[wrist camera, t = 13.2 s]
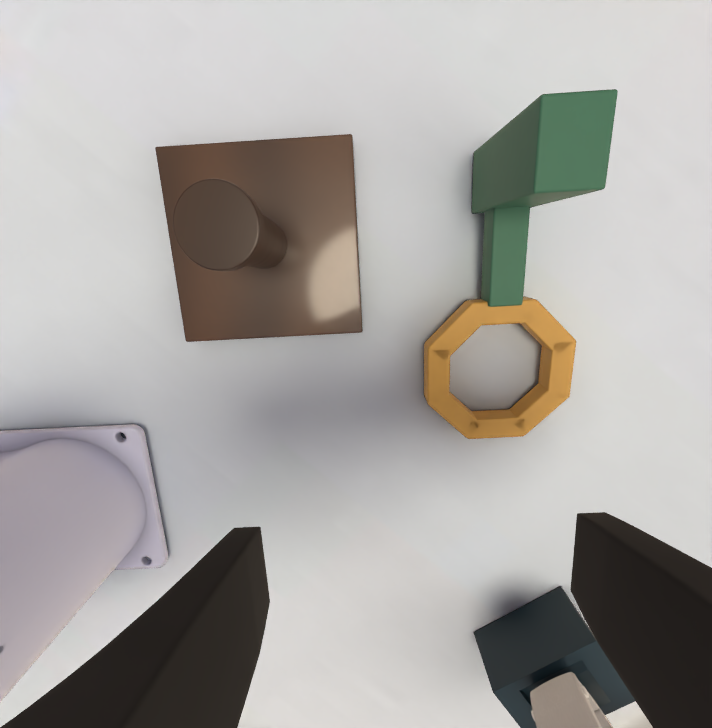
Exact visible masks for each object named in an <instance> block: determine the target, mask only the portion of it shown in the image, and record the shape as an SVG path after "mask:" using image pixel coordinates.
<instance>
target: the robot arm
mask: <svg viewBox="0 0 712 728" xmlns="http://www.w3.org/2000/svg"><path fill="white" fill-rule="evenodd" d="M120 432H122V433H123V434H125V436H126V439H124V438H123V437H121V435H120ZM147 557H149V558H150V559H148V558H147ZM167 560H168V551H167V545H166V540H165V535H164V530H163V525H162V520H161V514H160V509H159V504H158V499H157V494H156V489H155V483H154V478H153V473H152V468H151V463H150V457H149V452H148V447H147V442H146V437H145V433H144V430H143V429H142V428H141V427H140V426H138V425H134V424H130V425H109V426H89V427H68V428H47V429H27V430H6V431H0V702H1V701H2V700H3V699H4V698H5V696H6V695H7V694H8V693H9V692H10V690H11V689H12V688H13V687H14V686H15V685H16V683H17V682H18V681H19V680H20V679H21V678H22V676H23V675H24V674H25V673H26V672H27V671H28V669H29V668H30V667H31V666H32V665H33V664H34V662H35V661H36V660H37V659H38V658H39V657H40V655H41V654H42V653H43V652H44V651H45V650H46V648H47V647H48V646H49V645H50V644H51V643H52V641H53V640H54V639H55V638H56V637H57V636H58V634H59V633H60V632H61V631H62V630H63V628H64V627H65V626H66V625H67V624H68V623H69V621H70V620H71V619H72V618H73V617H74V616H75V614H76V613H77V612H78V611H79V610H80V609H81V607H82V606H83V605H84V604H85V603H86V602H87V600H88V599H89V598H90V597H91V596H92V595H93V593H94V592H95V591H96V590H97V589H98V588H99V586H100V585H101V584H102V583H103V582H104V581H105V579H106V578H107V577H108V576H109V575H110V574H111V572H112V571H113V570H116V569H141V568H159V567H162V566H164V564H165V563H166V561H167ZM571 592H572V594H573V596H574V598H575V600H576V602H577V604H578V606H579V608H580V610H581V612H582V614H583V616H584V618H585V620H586V622H587V624H588V625H589V627H590V629H591V631H592V633H593V635H594V637H595V639H596V640H597V642H598V644H599V645H600V647H601V648H602V650H603V652H604V653H605V655H606V656H607V658H608V659H609V661H610V662H611V664H612V666H613V667H614V669H615V670H616V672H617V673H618V675H619V676H620V678H621V679H622V681H623V682H624V684H625V686H626V687H627V689H628V690H629V692H630V693H631V695H632V696H633V698H634V699H635V701H636V702H637V704H638V705H639V707H640V708H641V710H642V711H643V713H644V714H645V716H646V717H647V719H648V720H649V722H650V723H651V725H652V726H653V728H712V568H711V567H709V566H707V565H705V564H703V563H701V562H700V561H698V560H696V559H694V558H692V557H690V556H688V555H686V554H685V553H683V552H681V551H679V550H677V549H675V548H673V547H672V546H670V545H668V544H666V543H664V542H662V541H660V540H658V539H657V538H655V537H653V536H651V535H649V534H647V533H645V532H643V531H642V530H640V529H638V528H636V527H634V526H632V525H630V524H628V523H626V522H624V521H622V520H620V519H618V518H616V517H614V516H612V515H609V514H607V513H605V512H603V513H579V514H577V522H576V534H575V545H574V557H573V569H572V580H571ZM269 603H270V599H269V591H268V583H267V575H266V567H265V560H264V552H263V544H262V536H261V528H260V527H243V528H234V529H232V530H231V531H230V532H229V533H228V534H227V535H226V536H225V537H224V538H223V539H222V540H221V541H220V542H219V543H218V544H217V545H215V546H214V547H213V548H212V549H211V550H210V551H209V552H208V553H207V554H206V555H205V556H204V557H203V558H202V559H201V560H200V561H199V562H198V563H197V564H196V565H195V566H194V567H193V568H192V569H191V570H190V571H189V572H188V573H186V574H185V575H184V576H183V577H182V578H181V579H180V580H179V581H178V582H177V583H176V584H175V585H174V586H173V587H172V588H171V589H170V590H169V591H167V592H166V593H165V594H164V595H163V596H162V597H161V598H160V599H159V600H158V601H157V602H155V603H154V604H153V605H152V606H151V607H150V608H149V609H148V610H146V611H145V612H144V613H143V614H142V615H141V616H140V617H138V618H137V619H136V620H135V621H134V622H133V623H132V624H130V625H129V626H128V627H127V628H126V629H125V630H124V631H122V632H121V633H120V634H119V635H118V636H117V637H116V638H114V639H113V640H112V641H111V642H110V643H109V644H108V645H106V646H105V647H104V648H103V649H102V650H100V651H99V652H98V653H97V654H96V655H94V656H93V657H92V658H91V659H89V660H88V661H87V662H86V663H85V664H83V665H82V666H81V667H80V668H78V669H77V670H76V671H75V672H73V673H72V674H71V675H70V676H68V677H67V678H66V679H64V680H63V681H62V682H60V683H59V684H58V685H57V686H55V687H54V688H53V689H51V690H50V691H49V692H48V693H46V694H45V695H44V696H42V697H41V698H40V699H39V700H37V701H36V702H35V703H33V704H32V705H31V706H29V707H28V708H27V709H25V710H24V711H23V712H21V713H20V714H19V715H17V716H16V717H15V718H13V719H12V720H10V721H9V722H7V723H6V724H5V725H3V726H2V727H0V728H237V726H238V723H239V720H240V717H241V713H242V710H243V707H244V704H245V700H246V697H247V694H248V690H249V687H250V684H251V680H252V677H253V674H254V671H255V667H256V664H257V660H258V657H259V654H260V649H261V644H262V639H263V635H264V630H265V624H266V619H267V614H268V608H269Z"/></svg>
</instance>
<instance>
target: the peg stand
mask: <svg viewBox="0 0 712 728" xmlns="http://www.w3.org/2000/svg"><path fill="white" fill-rule="evenodd" d="M156 155H157V161H158V167H159V174H160V180H161V186H162V193H163V199H164V205H165V212H166V218H167V224H168V231H169V237H170V243H171V250H172V256H173V262H174V269H175V275H176V281H177V288H178V294H179V300H180V307H181V313H182V319H183V326H184V332H185V338H186V341H187V342H192V341H211V340H229V339H248V338H267V337H285V336H304V335H323V334H342V333H360V332H362V313H361V294H360V275H359V255H358V236H357V217H356V197H355V178H354V159H353V139H352V135H351V134H347V135H332V136H317V137H301V138H286V139H271V140H256V141H241V142H225V143H210V144H195V145H180V146H165V147H156Z"/></svg>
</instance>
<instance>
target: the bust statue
mask: <svg viewBox="0 0 712 728" xmlns="http://www.w3.org/2000/svg"><path fill="white" fill-rule="evenodd" d="M474 635H475V638H476V641H477V644H478V647H479V650H480V653H481V656H482V659H483V663H484V666H485V669H486V672H487V675H488V678H489V681H490V684H491V687H492V690H493V693H494V694H495V695H496V697H497V698H498V699H499V700H500V702H501V703H502V704H503V706H504V707H505V708H506V709H507V711H508V712H509V713H510V714H511V716H512V717H513V718H514V720H515V721H516V722H517V723H518V725H519V726H520V727H521V728H613V727H612V725H611V723H610V722H609V720H608V719H607V718H606V716H605V715H606V714H609V713H611V712H613V711H615V710H617V709H619V708H621V707H624V706H626V705H628V704H630V703H632V702H634V701H635V699H634V698H633V696H632V695H631V693H630V692H629V690H628V689H627V687H626V686H625V684H624V682H623V681H622V679H621V678H620V676H619V675H618V673H617V672H616V670H615V669H614V667H613V666H612V664H611V662H610V661H609V659H608V658H607V656H606V655H605V653H604V652H603V650H602V648H601V647H600V645H599V644H598V642H597V640H596V639H595V637H594V635H593V633H592V632H591V630H590V629H589V627H588V626H587V624H586V623H585V621H584V620H583V618H582V617H581V616H580V614H579V613H578V611H577V610H576V608H575V607H574V605H573V604H572V602H571V601H570V599H569V598H568V596H567V595H566V593H565V592H564V591H563V589H562V588H561V586H560V587H559V588H557V589H555V590H553V591H551V592H549V593H547V594H545V595H543V596H542V597H540V598H538V599H536V600H534V601H532V602H530V603H528V604H526V605H525V606H523V607H521V608H519V609H517V610H515V611H513V612H511V613H509V614H508V615H506V616H504V617H502V618H500V619H498V620H496V621H494V622H492V623H491V624H489V625H487V626H485V627H483V628H481V629H479V630H477V631H475V632H474Z"/></svg>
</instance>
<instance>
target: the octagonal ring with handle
mask: <svg viewBox="0 0 712 728" xmlns="http://www.w3.org/2000/svg"><path fill="white" fill-rule="evenodd" d="M616 100H617V90H615V89H613V90H598V91H583V92H569V93H554V94H543V95H541V96H540V97H539V98H537V99H536V100H535V101H534V102H533V103H531V104H530V105H529V106H528V107H527V108H526V109H524V110H523V111H522V112H521V113H520V114H519V115H517V116H516V117H515V118H514V119H513V120H511V121H510V122H509V123H508V124H507V125H506V126H504V127H503V128H502V129H501V130H500V131H498V132H497V133H496V134H495V135H494V136H493V137H491V138H490V139H489V140H488V141H487V142H486V143H484V144H483V145H482V146H481V147H480V148H478V149H477V150H476V151H475V152H474V158H473V187H472V213H473V214H474V213H485V215H484V238H483V261H482V283H481V299H475V300H467V301H465V302H464V303H463V304H462V305H461V306H460V307H459V308H458V309H457V310H456V311H455V312H454V313H453V314H452V315H451V316H450V317H449V318H448V319H447V320H446V321H445V322H444V323H443V324H442V325H441V326H440V327H439V329H438V330H437V331H436V332H435V333H434V334H433V335H432V336H431V337H430V338H429V339H428V340H427V341H426V342H425V344H424V396H425V398H426V400H427V403H428V405H429V406H430V407H431V408H433V409H434V410H435V411H436V412H437V413H438V414H439V415H441V416H442V417H443V418H444V419H445V420H446V421H448V422H449V423H450V424H451V425H452V426H453V427H454V428H456V429H457V430H458V431H459V432H460V433H461V434H462V435H464V436H465V437H466V438H468V439H476V438H497V437H518V436H524V435H526V434H527V433H528V432H529V431H530V430H532V429H533V428H534V427H535V426H536V425H537V424H538V423H540V422H541V421H542V420H543V419H544V418H545V417H547V416H548V415H549V414H550V413H551V412H552V411H553V410H555V409H556V408H557V407H558V406H559V405H560V404H561V403H563V402H564V401H565V400H566V399H567V398H568V397H569V395H570V387H571V379H572V371H573V363H574V355H575V347H576V340H575V339H574V338H573V337H572V336H571V335H570V334H569V333H568V332H567V331H566V330H565V329H564V328H563V326H562V325H561V324H560V323H559V322H558V321H557V320H556V319H555V318H554V317H553V316H552V315H551V314H550V313H549V312H548V311H547V310H546V309H545V308H544V307H543V306H542V305H541V304H540V303H539V302H538V301H537V300H535V299H532V298H528V297H523V290H524V277H525V264H526V251H527V239H528V226H529V213H530V207H534V206H538V205H542V204H546V203H550V202H554V201H558V200H562V199H566V198H570V197H574V196H578V195H582V194H586V193H590V192H594V191H598V190H602V189H604V188H605V183H606V176H607V168H608V161H609V153H610V145H611V138H612V130H613V122H614V115H615V107H616ZM514 323H520V324H521V325H522V326H523V327H524V328H525V329H526V330H527V331H528V332H529V333H530V334H531V335H532V336H533V337H534V338H535V339H536V340H537V341H538V342H539V343H540V344H541V345H542V349H541V360H540V370H539V381H538V384H537V385H536V386H535V387H534V388H533V389H531V390H530V391H529V392H528V393H527V394H526V395H525V396H524V397H523V398H521V399H520V400H519V401H518V402H517V403H516V404H515V405H514V406H513V407H511V408H510V409H506V410H485V411H470V410H469V409H468V408H467V407H466V406H465V405H464V404H463V403H462V402H460V401H459V400H458V399H457V398H456V397H455V396H454V395H453V394H452V393H450V392H449V384H450V356H451V355H452V354H453V353H454V352H455V351H456V350H457V349H458V348H459V347H460V346H461V345H462V344H463V343H464V342H465V341H466V340H467V339H468V338H469V337H470V336H471V335H472V334H473V333H474V332H475V331H476V330H477V329H478V328H479V327H480V326H481V325H496V324H514Z"/></svg>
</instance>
